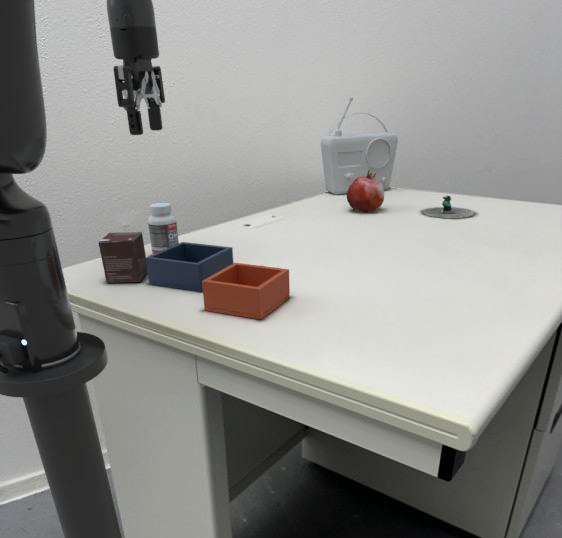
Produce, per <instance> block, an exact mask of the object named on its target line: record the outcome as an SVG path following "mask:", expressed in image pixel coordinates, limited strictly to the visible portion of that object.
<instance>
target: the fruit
mask: <svg viewBox="0 0 562 538" xmlns="http://www.w3.org/2000/svg"><path fill="white" fill-rule="evenodd" d="M369 171H370V170H369ZM369 171H368V173H367V176H363V177H358V178H356V179H355V180H354V182H353V183H352V184H351V185H350V187H349V189H348V191H347V194H346V200H347V203H348V205H349V206H350V208H351V209H352V211H358V212H364V213H372V212H376V210H378V209H379V208H381V206H382V205H383V203H384V200H385V190H384V188H383V185H382V183H381V182H379V181H378V180H376V179H375V178H374V177H375V175H376V173H375V174H374V176H373V175H372V173H370V174H369Z"/></svg>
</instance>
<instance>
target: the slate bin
mask: <svg viewBox="0 0 562 538" xmlns="http://www.w3.org/2000/svg"><path fill="white" fill-rule="evenodd" d="M233 253H234V251H233V247H231V246H223V245H214V244H206V243H205V244H204V243H196V242H188V241H187V242H186V241H181V242H179V244H176V245H174V246H172V247H169V248H167V249H165V250H162V251H160V252H158V253H155V254H151V255H148V256H146V258H145V259H146V265H147V278H148V284H149V285H154V286H159V287H165V288H166V287H167V288H173V289H180V290H185V291H191V292H200V293H203V288H202V281H203V280H205V279H207V278H208V277H210V276H212V275H214V274H216V273H217V272H219V271H221V270H223V269H225V268H226V267H228V266H230V265H232V264H233V263H234V254H233Z"/></svg>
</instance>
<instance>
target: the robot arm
mask: <svg viewBox="0 0 562 538" xmlns="http://www.w3.org/2000/svg"><path fill="white" fill-rule="evenodd" d="M35 5H36V3H35V0H0V362H3V365H5V366H8V367H12V368H16V369H19V370H24V371H27V372H31V373H37V372H39V371H41V370H44V369H49V368H53V367H56V366H60V365H62V364H65V363H67V362H69V361H71V360H73V359H74V358H75V357H77V356H78V355H79V353H80V352H81V346H80V342H79V341H78V336H77V332H78V331H77V327H76V323H75V319H74V315H73V311H72V305H71V302H70V298H69V293H68V288H67V284H66V279H65V276H64V275H65V274H64V271H63V266H62V262H61V257H60V254H59V248H58V244H57V239H56V235H55V231H54V227H53V222H52V219H51V218H52V217H51V214H50V210H49V208H48V206H47V205H46V203H44V202H43V201H42V200H39V199H37V198H35V197H33V196H32V195H31V194H29V193H28V192H26V191H25V190H24V189H23V188H22V187H21V186H20V185H19V183H18V182H17V181H16V179H15V176H14V175H25V174H30V173H32V172H33V171H35V170H36V169H37V168H38V167H40V165H41V164H42V162H43V159H44V157H45V153H46V148H47V142H48V141H47V140H48V130H47V129H48V127H47V114H46V107H45V97H44V91H43V83H42V81H43V80H42V74H41V67H40V57H39V50H38V49H39V48H38V40H37V39H38V37H37V22H36V6H35ZM106 13H107V19H108V20H107V21H108V26H109V32H110V40H111V45H112V53H113V57H114V58H115V59H116V60H120V61H121V60H122V65H114V66H113V77H114V84H115V92H116V100H117V105H118V107H119V108H123V110H124V111H126V117H127V122H128V131H129V134H130V135H132V136H142V135H144V127H143V119H142V113H141V112H142V111H141V110H140V109H141V103H142V100H144V101H145V104H146V106H147V109H146V110H147V117H148V122H149V129H150V130H151V131H162V130H163V121H162V112H161V108H162V106H163V104H165V103H166V96H165V90H164V81H163V75H162V67H161V66H160V65H155V66H154V65H153V63H152V60H154V59H155V60H156V59H158V58H159V57H160V50H159V40H158V32H157V23H156V14H155V8H154V4H153V0H106ZM0 371H1V372H3V373H7V372H8V371H9V369H7V368H6V367H4V366H1V365H0Z"/></svg>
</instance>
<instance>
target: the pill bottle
mask: <svg viewBox="0 0 562 538" xmlns="http://www.w3.org/2000/svg"><path fill="white" fill-rule="evenodd" d="M172 210H173V209H172V205H171V203H169V202H156V203H152V204H149V213H150V215H151V216H149V217H148V219H147V225H148V232H149V238H150V246H151V252H152V254H151V255H153V254H155V253H158V252H160V251H162V250H165V249H167V248H169V247H172V246H174V245H176V244H179V243H180V242H179V234H178V233H179V232H178V223H177V219H176V216H175V215H173V214H171V213H172Z"/></svg>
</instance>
